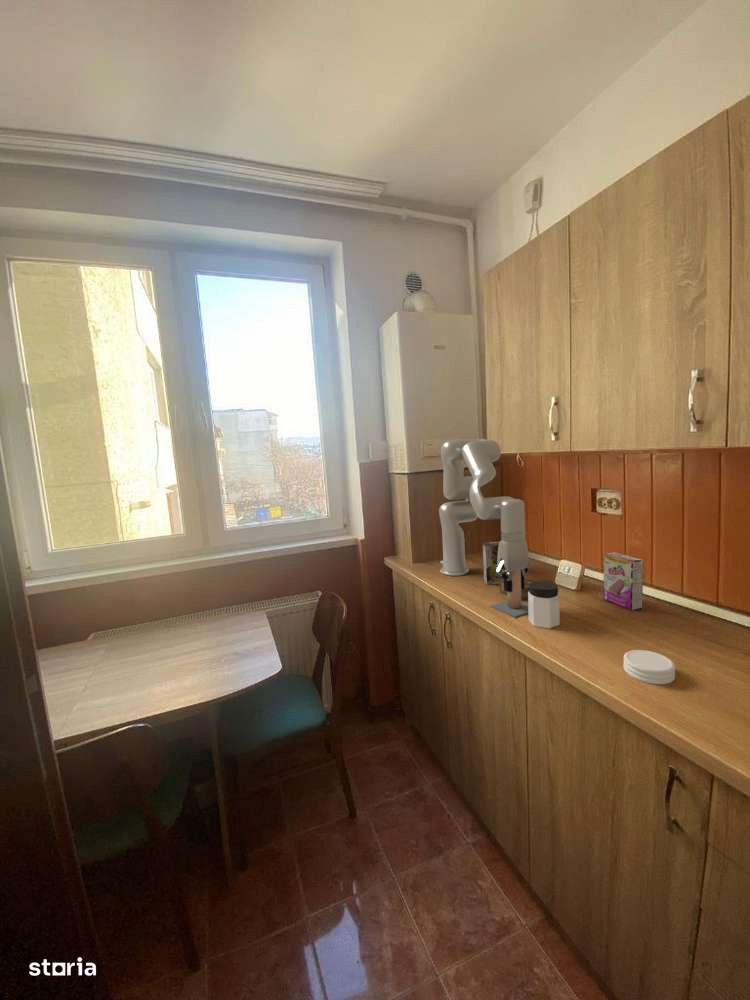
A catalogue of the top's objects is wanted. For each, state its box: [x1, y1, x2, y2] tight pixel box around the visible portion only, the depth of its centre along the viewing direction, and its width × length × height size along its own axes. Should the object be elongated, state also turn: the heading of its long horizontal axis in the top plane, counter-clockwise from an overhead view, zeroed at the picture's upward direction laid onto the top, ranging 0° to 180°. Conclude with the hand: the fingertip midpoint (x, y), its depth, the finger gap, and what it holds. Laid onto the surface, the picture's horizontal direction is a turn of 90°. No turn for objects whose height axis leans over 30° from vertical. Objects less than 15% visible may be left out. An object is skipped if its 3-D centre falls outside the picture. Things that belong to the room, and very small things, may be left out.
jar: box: [527, 580, 561, 630], centre depth 123 cm, size 9×8×12 cm
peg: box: [507, 569, 523, 608], centre depth 135 cm, size 4×4×13 cm
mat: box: [490, 599, 528, 618], centre depth 136 cm, size 11×11×1 cm
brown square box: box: [499, 579, 533, 601], centre depth 149 cm, size 9×9×4 cm
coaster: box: [623, 649, 676, 685], centre depth 94 cm, size 10×10×4 cm
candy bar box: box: [602, 551, 644, 611], centre depth 133 cm, size 11×5×16 cm, turn 18°
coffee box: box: [482, 541, 507, 585], centre depth 163 cm, size 9×6×16 cm
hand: (514, 588), depth 135 cm, fingers open, 4 cm apart
